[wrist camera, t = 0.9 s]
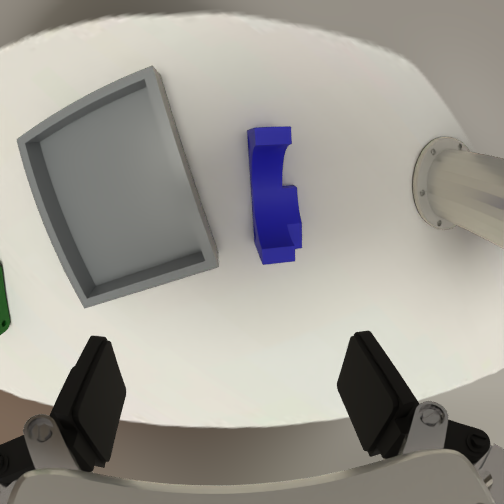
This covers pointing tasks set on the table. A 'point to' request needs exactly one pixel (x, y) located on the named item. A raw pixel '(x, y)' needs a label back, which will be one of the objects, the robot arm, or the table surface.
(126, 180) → the gray tray
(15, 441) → the robot arm
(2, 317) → the clamp
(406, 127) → the table surface
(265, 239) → the blue long angular piece
